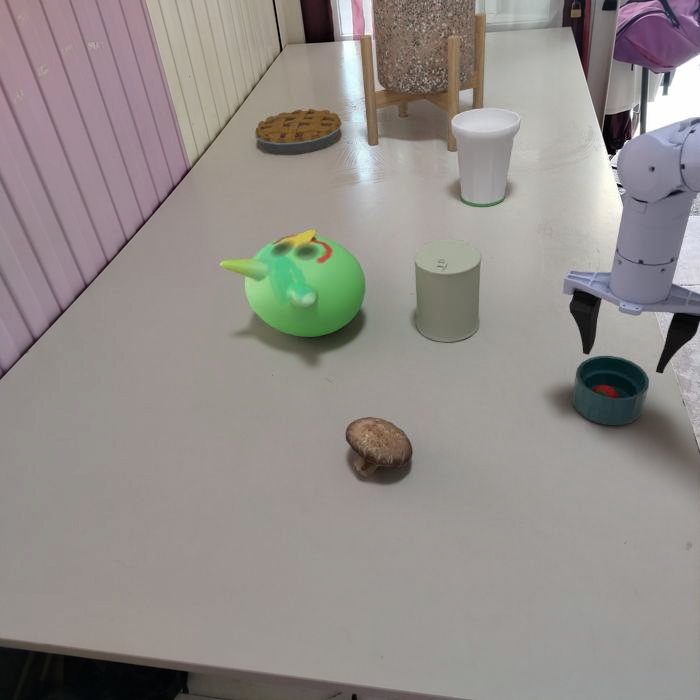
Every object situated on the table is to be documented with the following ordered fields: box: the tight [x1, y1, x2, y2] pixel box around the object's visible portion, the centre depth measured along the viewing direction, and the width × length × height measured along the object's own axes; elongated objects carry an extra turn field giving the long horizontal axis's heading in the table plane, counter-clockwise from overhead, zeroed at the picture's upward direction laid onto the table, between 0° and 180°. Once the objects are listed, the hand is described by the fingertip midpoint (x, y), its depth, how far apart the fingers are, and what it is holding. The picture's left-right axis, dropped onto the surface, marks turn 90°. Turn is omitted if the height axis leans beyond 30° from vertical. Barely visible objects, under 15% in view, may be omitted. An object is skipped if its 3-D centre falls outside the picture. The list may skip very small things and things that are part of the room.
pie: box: [254, 108, 343, 155], centre depth 158 cm, size 22×22×5 cm
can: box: [413, 239, 482, 343], centre depth 90 cm, size 9×9×12 cm
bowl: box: [571, 355, 650, 426], centre depth 76 cm, size 8×8×4 cm
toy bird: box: [219, 228, 366, 338], centre depth 92 cm, size 18×17×15 cm
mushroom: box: [345, 416, 414, 478], centre depth 73 cm, size 8×8×6 cm
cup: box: [451, 107, 522, 208], centre depth 120 cm, size 12×12×15 cm
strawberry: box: [592, 385, 618, 398], centre depth 76 cm, size 3×3×4 cm
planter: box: [359, 0, 487, 152], centre depth 146 cm, size 22×23×32 cm
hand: (623, 358), depth 70 cm, fingers open, 7 cm apart
